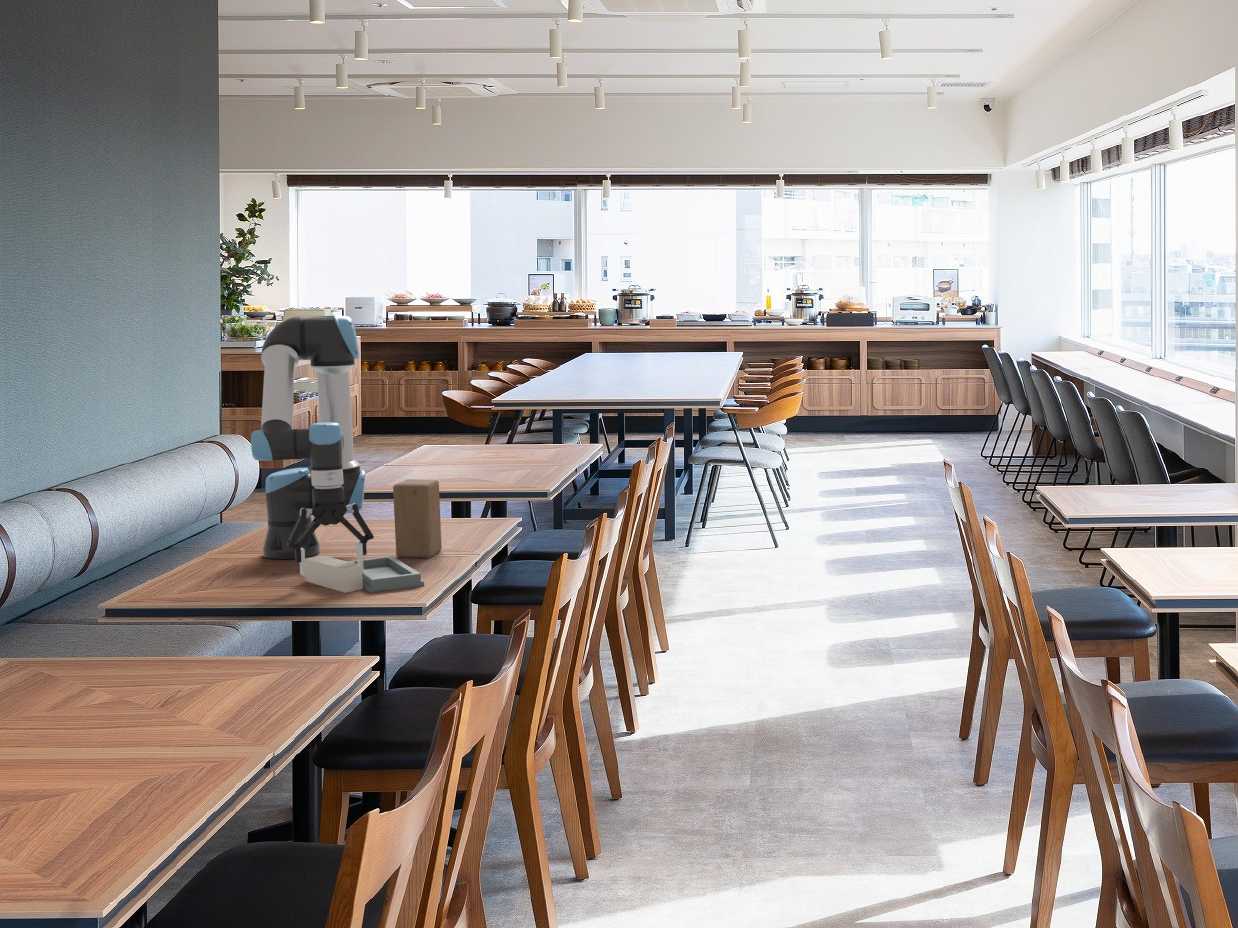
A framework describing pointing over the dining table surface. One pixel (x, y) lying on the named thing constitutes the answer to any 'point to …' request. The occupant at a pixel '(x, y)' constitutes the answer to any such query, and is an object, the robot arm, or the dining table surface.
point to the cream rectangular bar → (334, 573)
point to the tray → (388, 574)
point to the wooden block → (417, 518)
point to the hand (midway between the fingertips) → (332, 572)
